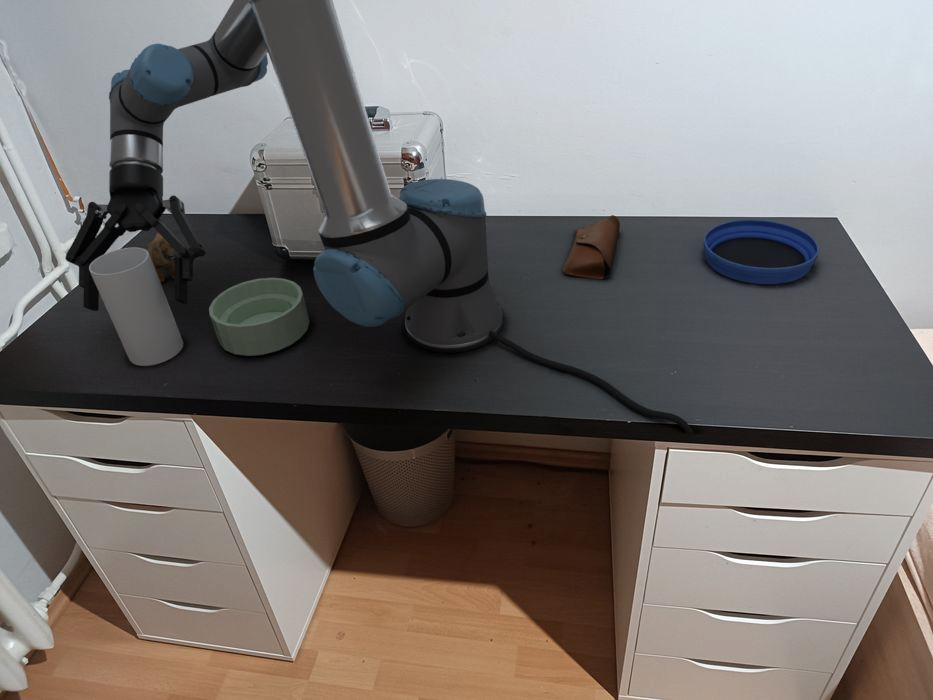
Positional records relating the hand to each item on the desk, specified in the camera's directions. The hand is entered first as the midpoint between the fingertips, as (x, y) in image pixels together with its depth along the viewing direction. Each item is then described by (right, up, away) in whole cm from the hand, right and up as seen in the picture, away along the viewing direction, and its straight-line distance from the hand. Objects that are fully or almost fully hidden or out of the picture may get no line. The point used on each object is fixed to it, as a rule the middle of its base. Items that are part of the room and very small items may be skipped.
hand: (136, 305), depth 102 cm
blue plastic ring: (+99, +9, +15) cm, 101 cm away
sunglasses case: (+72, +11, +21) cm, 76 cm away
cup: (+1, -7, +5) cm, 9 cm away
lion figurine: (-6, +8, +27) cm, 29 cm away
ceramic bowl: (+17, -4, +7) cm, 19 cm away
